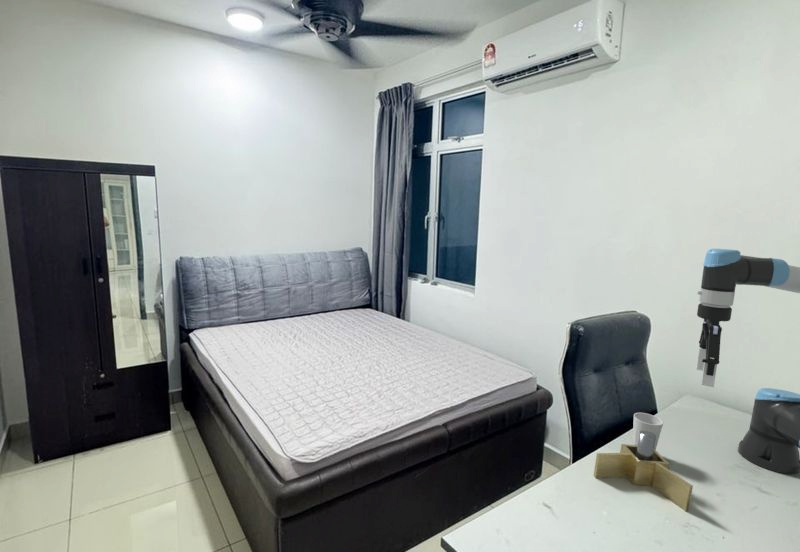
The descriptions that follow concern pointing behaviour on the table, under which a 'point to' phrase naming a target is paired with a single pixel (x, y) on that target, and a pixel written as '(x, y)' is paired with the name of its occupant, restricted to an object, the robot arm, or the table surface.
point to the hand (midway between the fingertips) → (704, 377)
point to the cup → (646, 426)
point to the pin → (645, 446)
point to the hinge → (644, 473)
